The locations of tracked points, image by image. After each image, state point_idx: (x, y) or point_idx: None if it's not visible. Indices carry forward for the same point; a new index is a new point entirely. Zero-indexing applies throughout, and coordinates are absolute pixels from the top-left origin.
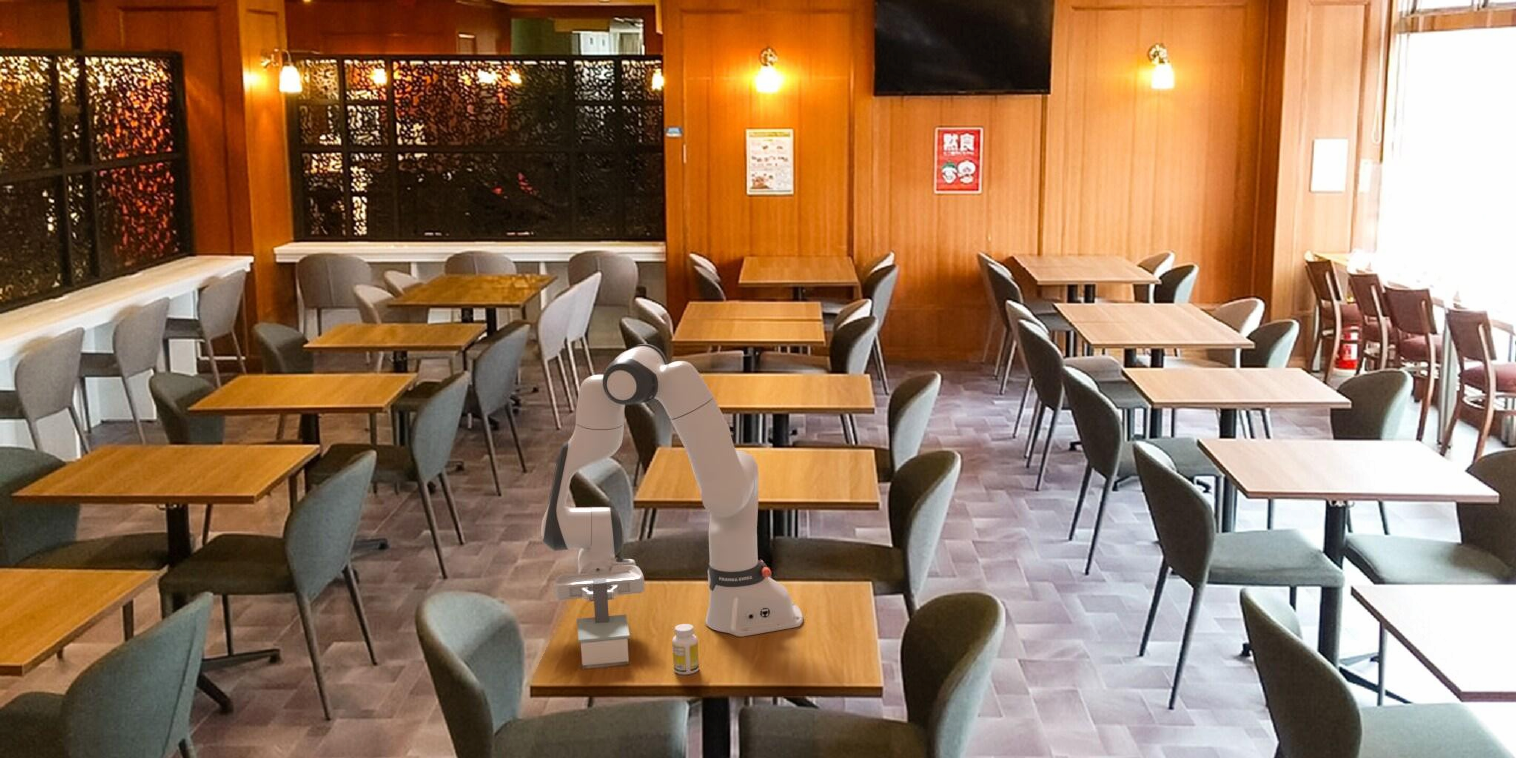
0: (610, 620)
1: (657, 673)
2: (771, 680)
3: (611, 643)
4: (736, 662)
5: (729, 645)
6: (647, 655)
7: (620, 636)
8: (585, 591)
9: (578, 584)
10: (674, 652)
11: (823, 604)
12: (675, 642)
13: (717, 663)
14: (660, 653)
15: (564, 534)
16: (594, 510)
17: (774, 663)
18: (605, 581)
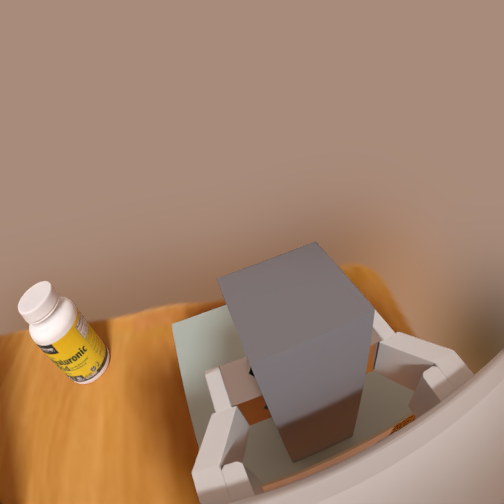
0: (269, 427)
1: (142, 344)
2: (4, 339)
3: None
4: (17, 393)
5: (12, 466)
6: (169, 430)
7: (198, 315)
8: (406, 335)
9: (496, 356)
10: (85, 319)
11: None
12: (69, 299)
13: (40, 391)
14: (137, 442)
15: None
16: None
17: None
18: (232, 297)
